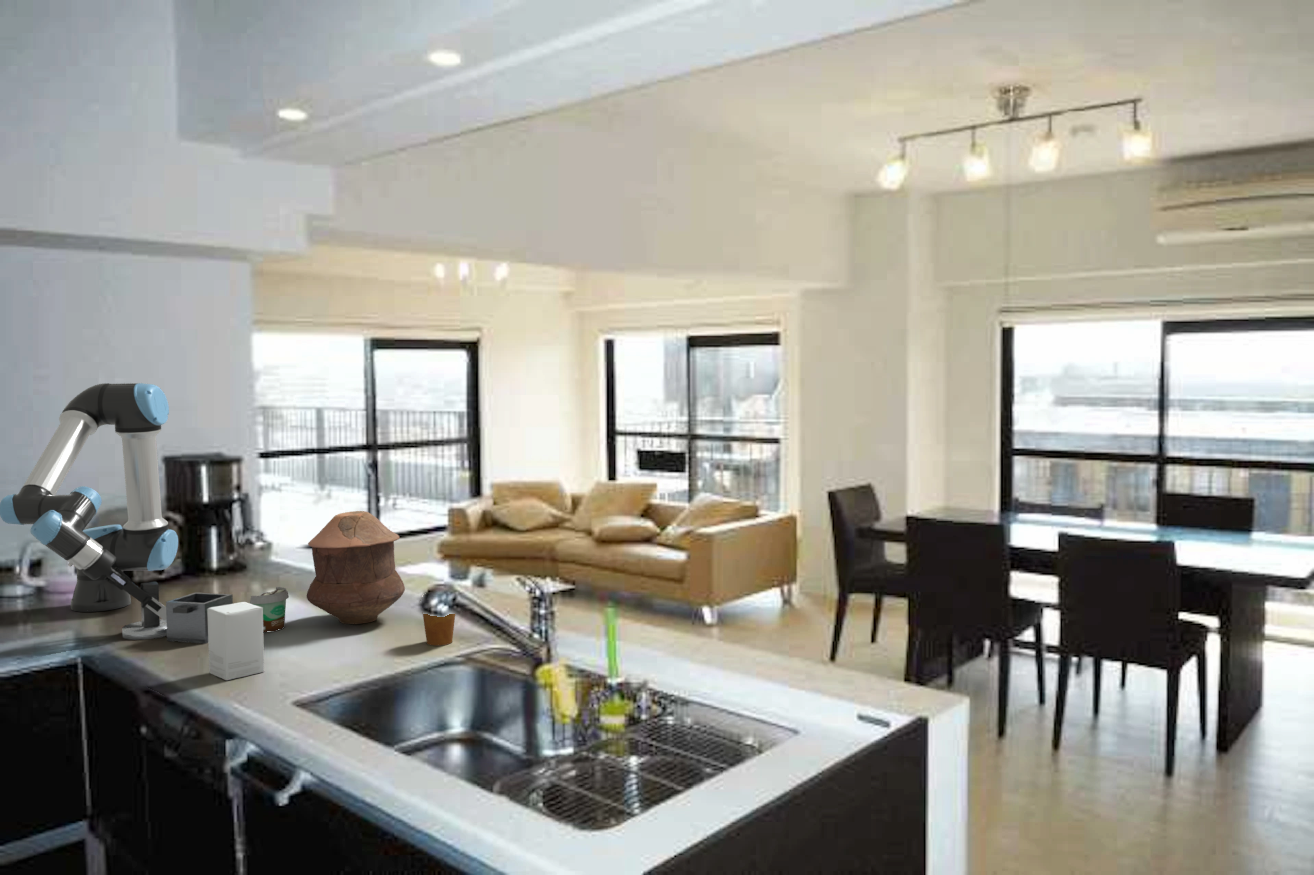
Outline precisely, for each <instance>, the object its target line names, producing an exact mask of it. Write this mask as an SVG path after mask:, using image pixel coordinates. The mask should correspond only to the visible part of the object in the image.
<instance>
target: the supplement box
mask: <svg viewBox="0 0 1314 875" xmlns="http://www.w3.org/2000/svg"><path fill="white" fill-rule="evenodd" d="M207 613H208V643H207V644H208V645H207V646H208V673H209V674H211V675H212V676H213V675H214V676H215V677H218V678H219V679H222V680H224V681H230V680H234V679H239V678H243V677H248V676H252V675H255V674H261V673H264V672H265V659H264V658H265V656H264V655H265V654H264V650H265V649H264V643H265V642H264V633H263V608H262V607H259V606H256V605H253V604H250V602H246V601H241V602H234V603H233V604H229V605H223V606H216V607H211V608H208V609H207Z"/></svg>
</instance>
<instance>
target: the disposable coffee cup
mask: <svg viewBox="0 0 1314 875" xmlns="http://www.w3.org/2000/svg"><path fill="white" fill-rule="evenodd" d="M424 594H425V593H423V594H422V595H421V597H420V600H419V602H420V601H421V599H422V597H423V595H424ZM422 617H423V626H424V633H425V639H426V644H427V645H430V646H436V647H437V646H447V645H449V644H451V643H453V637H454V629H455V621H456V620H455V619H456V613H455V614H449V615H447V616H445V617H437V616H430V615H428V614H423V613H422Z"/></svg>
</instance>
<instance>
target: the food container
mask: <svg viewBox="0 0 1314 875" xmlns="http://www.w3.org/2000/svg"><path fill="white" fill-rule="evenodd" d="M289 597H290V596H289V592H288V590H287V588H286V587H283V586H275V590H272V591H269V592H264V593H262V594H260V595H250V599H249V603H250V604H253V605H256V606H259V607H262V608H263V632H267V631H274V632H277V631H276V630H278V629H281V630H283V629H284V628H285V626H286V624H285V623H286V605H287V600H288V599H289ZM283 627H284V628H283ZM282 628H283V629H282ZM278 631H279V630H278ZM267 633H268V632H267Z"/></svg>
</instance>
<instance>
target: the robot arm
mask: <svg viewBox="0 0 1314 875" xmlns="http://www.w3.org/2000/svg"><path fill="white" fill-rule="evenodd" d="M168 415H170V406H169V402H168V398H167V396H166V394H165V392H164V391H163V390H162V389H161V387H160V386H158V385H156V384H151V383H142V382H141V383H140V382H137V383H131V382H130V383H106V382H105V383H98V384H95V385H93V386H90V387H88V388H86V389H85V390H83V391H81V392H79V394H77V395H76V396H75V397H73V398H72V399H71V400H70V401H69V402H68V403H67V404H66V405H65V407H64V408H63V410H62V412H61V414H60V415H59V417H58V420H59V424H58V426H57V429H56V430H55V432H54V433H53V435H52V436H51V438H50V440H49V442H48V444H47V445H46V447H45V448H44V450H43V452H42V453H41V456H40V457H39V459H38V460H37V461H36V463H35V465H34V467H33V469H32V471H31V472H30V474H29V475H28V477H27V479H26V481H25V482H24V483H23V486H22V487H21V488H20V490H19V492H18V493H17V494H16V493H13V494H7V495H6V496H4V497H3V498H2V499H1V500H0V519H1V520H2V521H3V522H4V523H5V524H9V525H19V526H20V525H21V526H24V525H32V526H31V527H30V530H29V531H30V534H31V535H32V536H33V537H34V539H37V541H38V542H40V544H42V545H44V546H45V547H47V548H48V549H50V550H51V551H52V552H53V553H55V554H57V555H58V556H59V557H61V559H64V560H65V561H66V562H68V564H67V565H68V567H75V569H76V583H75V587H74V591H73V594H72V598H71V599H70V610H71V611H73V612H80V613H92V612H93V613H94V612H95V613H96V612H104V611H113V610H116V609H121V608H124V607H128V606H130V605H131V604H132V602H131V601H132V600H131V597H133V598H134V599H136V600H137V601H138V602H140V604H141V603H142V604H143V605H142V606H141V605H140V608H141V607H143V608H144V607H145V606H146V607H147V608H148V609H150V610H151V611H153V612H154V613H155V614H157V615H158V616H159V617H160V618H161V619H163V620H166V605H164V604H162V602H160V601H159V602H158V601H157V600H156V599H154V598H153V597H152V596H150V595H148V594H147V593H145V592H144V591H143V590H141V587H139V586H138V585H137V584H135V583H134V582H133V581H132V579H131V578H130V577H129V576H128V575H127V574H125V573H124V571H148V572H153V571H162V570H166V569H168V568H169V567H170V566H171V565H172V563H174V560H175V559H176V555H177V552H178V549H179V548H178V547H179V536H178V534H177V532H176V531H175V530H174V529H170V528H169V521H167V520H166V519H165V518H164V517H163V516H162V515H163V514H162V502H161V487H160V476H159V475H160V474H159V473H160V472H159V461H158V460H159V459H158V458H159V457H158V447H157V436H158V434H159V433H160V432H161V431H162V426H163V425H164V424H166V423H167V421H168V420H169V416H168ZM105 425H107V426H108V425H114V432H115V434H116V435H118V436H119V437H120V438H121V441H122V442H121V443H122V444H121V445H122V455H123V467H124V470H123V471H124V479H125V495H126V496H125V497H126V509H127V521H126V522H125V523H124V524H123V526H122V525H121V524H108V525H103V526H96V527H92V528H91V527H89V528H87V526H88V525H89V523H90V522H91V521H92V519H93V518H94V517H95V516H96V515H97V513H98V511H99V509H100V507H101V505H102V497H101V495H100V494H99V493H98V491H96V490H95V489H93V488H91V487H89V486H78V487H75V488H73V490H72V491H71V492H70V493H69V494H57V492H58V491H59V489H60V488H61V486H62V485H63V482H64V480H65V479H66V477H67V475H68V473H69V472H70V470H71V468H72V466H73V465H74V463H75V462H76V459H77V458H78V456H79V454H80V453H81V451H82V449H83V447H84V445H85V443H86V442H87V440H88V438H89V436H92V435H94V434H95V433H96V432H97V430H98V429H99V428H100V427H102V426H105Z"/></svg>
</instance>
